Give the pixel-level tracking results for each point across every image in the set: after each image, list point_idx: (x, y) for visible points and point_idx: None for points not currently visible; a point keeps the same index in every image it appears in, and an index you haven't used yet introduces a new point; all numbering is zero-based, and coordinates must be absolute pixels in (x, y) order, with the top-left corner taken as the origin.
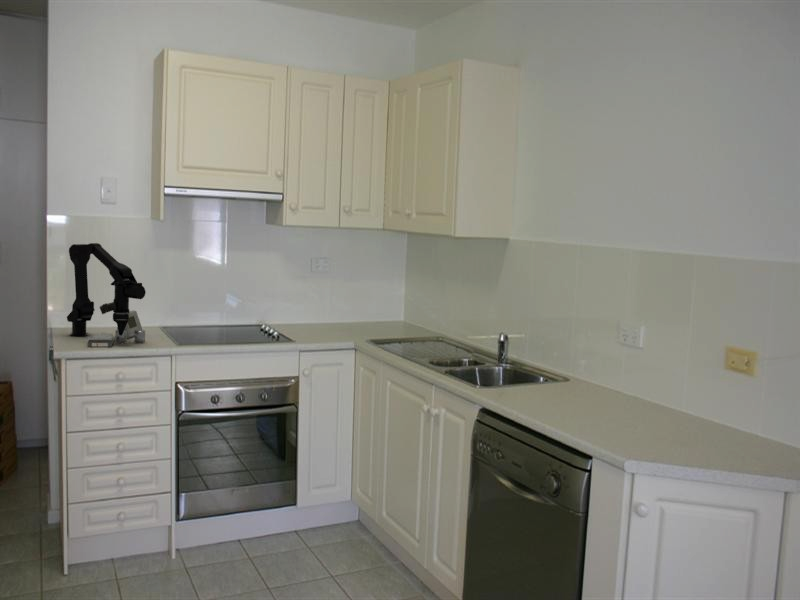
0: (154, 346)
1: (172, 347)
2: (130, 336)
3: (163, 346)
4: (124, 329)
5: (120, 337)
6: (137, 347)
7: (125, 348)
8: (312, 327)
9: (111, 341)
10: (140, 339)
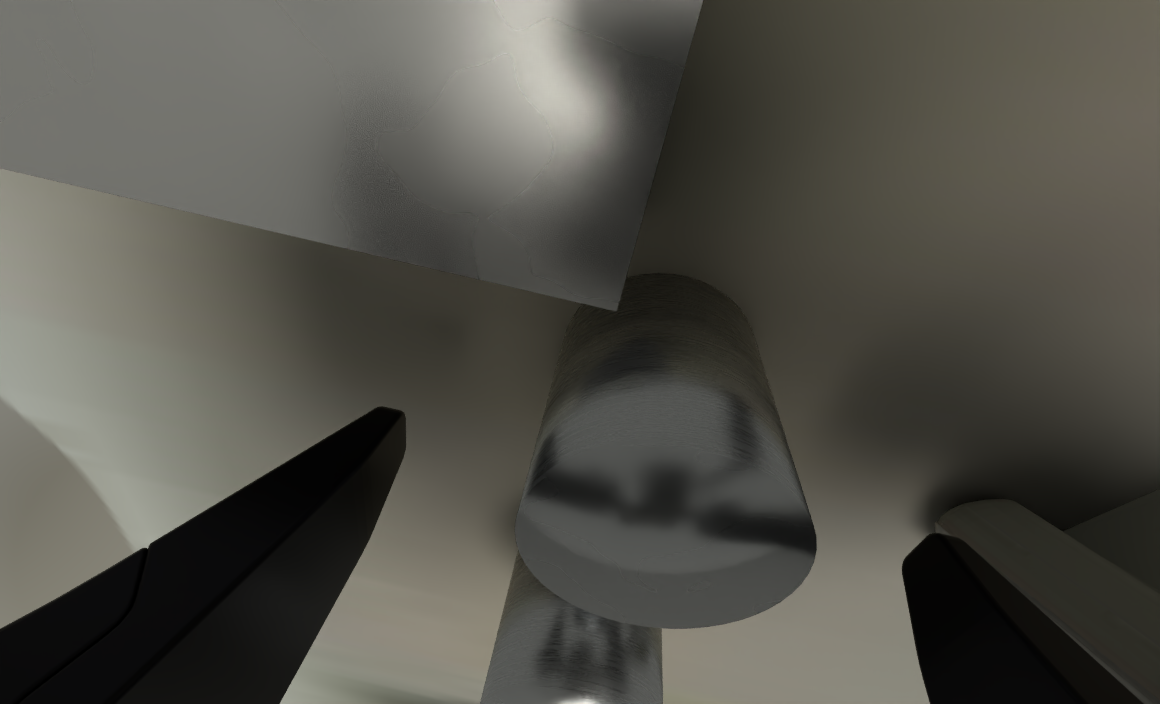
0: None
1: None
2: None
3: (326, 624)
4: (1088, 642)
5: (549, 400)
6: (218, 445)
7: (91, 300)
8: None
9: None
10: (510, 582)
